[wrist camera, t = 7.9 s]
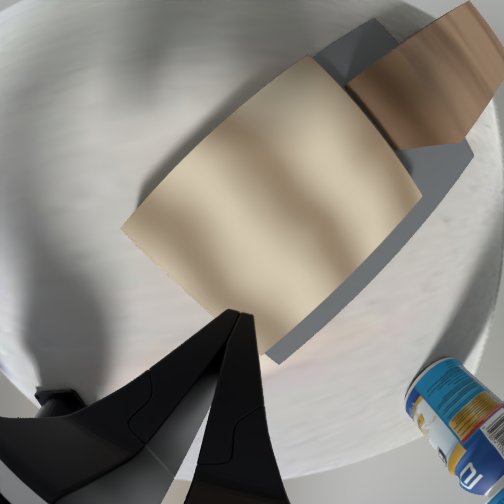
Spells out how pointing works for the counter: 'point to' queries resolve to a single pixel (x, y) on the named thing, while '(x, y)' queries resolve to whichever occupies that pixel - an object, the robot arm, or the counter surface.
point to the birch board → (276, 203)
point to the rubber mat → (414, 161)
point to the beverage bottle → (461, 425)
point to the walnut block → (433, 81)
